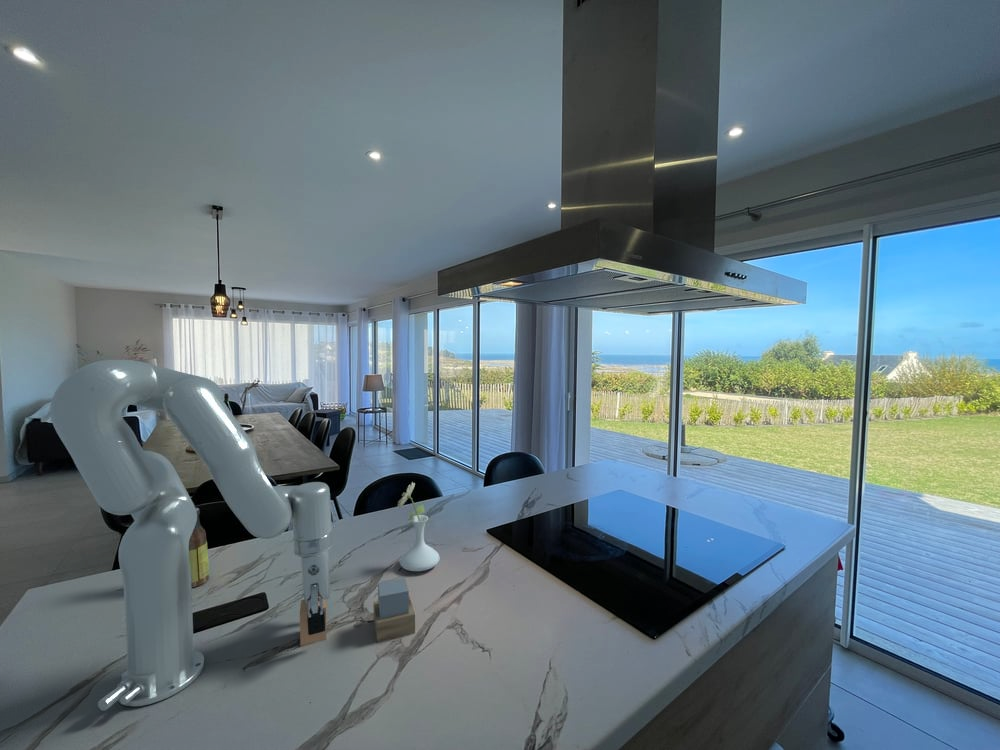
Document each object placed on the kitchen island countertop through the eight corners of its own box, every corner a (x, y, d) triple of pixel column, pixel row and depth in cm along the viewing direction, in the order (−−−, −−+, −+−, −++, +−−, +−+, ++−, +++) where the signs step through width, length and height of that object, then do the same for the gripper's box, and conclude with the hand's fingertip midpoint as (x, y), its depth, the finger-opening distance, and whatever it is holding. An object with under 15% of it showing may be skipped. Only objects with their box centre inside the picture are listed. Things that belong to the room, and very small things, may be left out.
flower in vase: (418, 552, 127) (417, 472, 126) (447, 561, 121) (447, 477, 120) (386, 571, 116) (385, 483, 115) (417, 582, 110) (416, 490, 109)
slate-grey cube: (408, 613, 90) (408, 590, 90) (380, 619, 88) (379, 596, 88) (405, 598, 96) (404, 577, 96) (378, 603, 94) (377, 582, 93)
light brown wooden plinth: (415, 634, 90) (415, 614, 90) (377, 643, 87) (376, 623, 87) (408, 613, 97) (408, 594, 97) (373, 621, 94) (373, 602, 94)
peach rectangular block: (326, 639, 88) (325, 607, 88) (300, 646, 86) (299, 613, 86) (326, 625, 93) (325, 595, 92) (301, 631, 91) (301, 600, 90)
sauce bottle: (205, 574, 114) (203, 503, 113) (212, 582, 110) (210, 508, 109) (175, 584, 109) (173, 510, 108) (182, 593, 105) (180, 516, 104)
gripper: (332, 556, 82) (336, 638, 83) (331, 523, 98) (335, 592, 99) (290, 564, 79) (295, 650, 80) (296, 529, 95) (300, 601, 96)
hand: (317, 618), depth 89 cm, fingers open, 9 cm apart
